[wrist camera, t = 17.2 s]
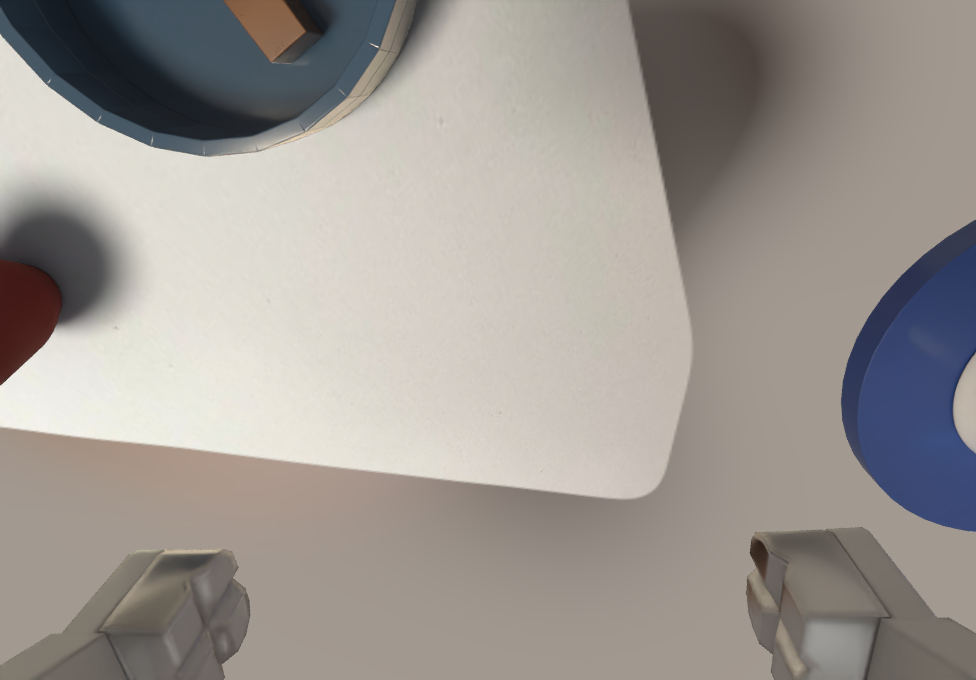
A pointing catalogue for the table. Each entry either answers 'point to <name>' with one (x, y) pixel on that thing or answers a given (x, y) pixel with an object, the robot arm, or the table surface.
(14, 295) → the mug
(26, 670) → the robot arm
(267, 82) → the bowl
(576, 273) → the table surface
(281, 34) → the stick
